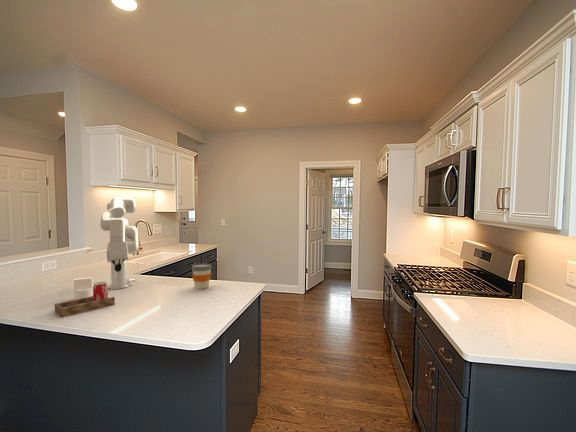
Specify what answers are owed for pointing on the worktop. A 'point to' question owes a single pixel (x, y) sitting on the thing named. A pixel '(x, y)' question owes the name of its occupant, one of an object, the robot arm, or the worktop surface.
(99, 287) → the soda can
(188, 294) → the worktop surface
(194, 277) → the reusable coffee cup
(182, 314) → the worktop surface
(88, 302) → the u rest
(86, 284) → the cylinder with rectangular tab
